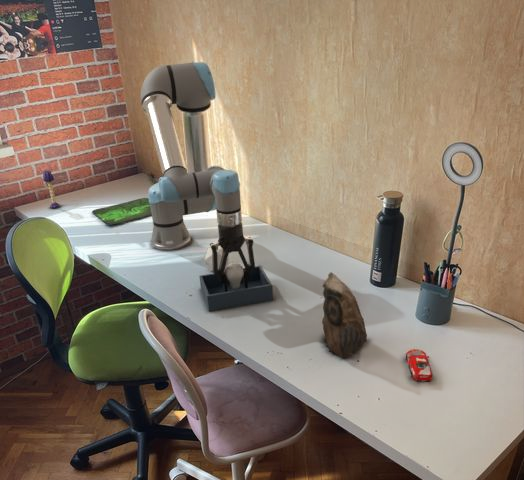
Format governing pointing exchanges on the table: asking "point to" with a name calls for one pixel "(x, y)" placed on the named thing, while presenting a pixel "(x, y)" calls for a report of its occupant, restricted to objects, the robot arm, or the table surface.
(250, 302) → the tote
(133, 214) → the mouse mat
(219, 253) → the die
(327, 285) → the owl
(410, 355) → the race car
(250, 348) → the table surface
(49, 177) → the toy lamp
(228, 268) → the lightbulb
